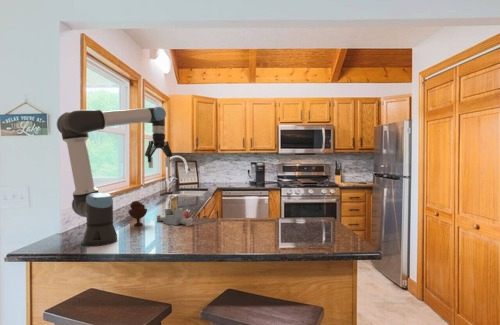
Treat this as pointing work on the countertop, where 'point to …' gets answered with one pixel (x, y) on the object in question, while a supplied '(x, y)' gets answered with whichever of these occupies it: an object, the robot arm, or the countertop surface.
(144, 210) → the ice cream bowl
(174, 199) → the brass nipple
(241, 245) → the countertop surface
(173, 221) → the valve
